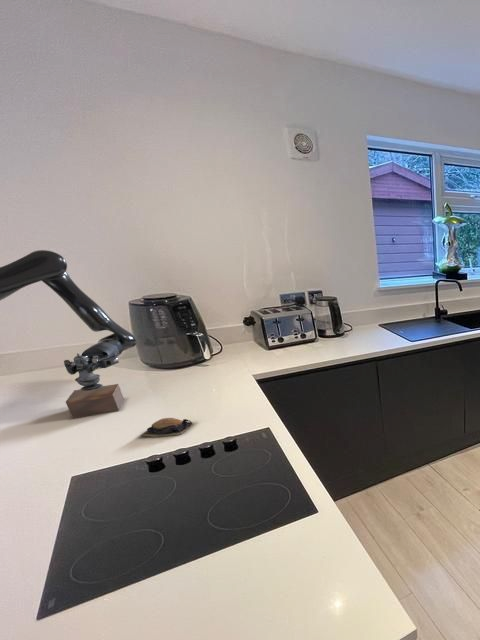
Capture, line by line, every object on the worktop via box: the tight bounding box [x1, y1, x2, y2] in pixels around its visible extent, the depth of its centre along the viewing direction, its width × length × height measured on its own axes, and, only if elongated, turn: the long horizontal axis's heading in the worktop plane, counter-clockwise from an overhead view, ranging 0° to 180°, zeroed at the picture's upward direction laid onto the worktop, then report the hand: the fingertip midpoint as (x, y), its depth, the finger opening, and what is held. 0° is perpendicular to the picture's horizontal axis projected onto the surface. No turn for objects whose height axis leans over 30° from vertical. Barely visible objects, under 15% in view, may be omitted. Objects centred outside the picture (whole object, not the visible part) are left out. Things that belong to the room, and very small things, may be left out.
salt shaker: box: [73, 353, 104, 391], centre depth 130 cm, size 6×6×12 cm
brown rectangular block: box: [65, 383, 125, 420], centre depth 134 cm, size 11×11×6 cm
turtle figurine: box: [141, 417, 194, 438], centre depth 122 cm, size 11×8×4 cm
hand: (79, 370), depth 127 cm, fingers closed on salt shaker, 3 cm apart
